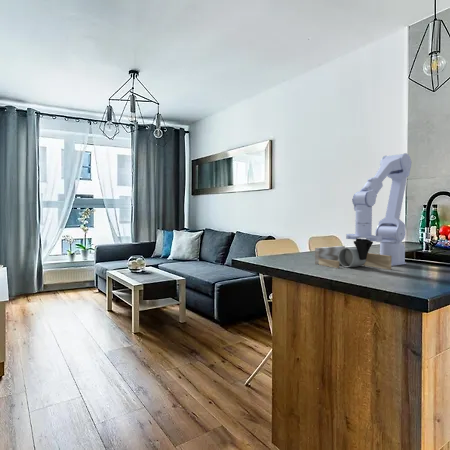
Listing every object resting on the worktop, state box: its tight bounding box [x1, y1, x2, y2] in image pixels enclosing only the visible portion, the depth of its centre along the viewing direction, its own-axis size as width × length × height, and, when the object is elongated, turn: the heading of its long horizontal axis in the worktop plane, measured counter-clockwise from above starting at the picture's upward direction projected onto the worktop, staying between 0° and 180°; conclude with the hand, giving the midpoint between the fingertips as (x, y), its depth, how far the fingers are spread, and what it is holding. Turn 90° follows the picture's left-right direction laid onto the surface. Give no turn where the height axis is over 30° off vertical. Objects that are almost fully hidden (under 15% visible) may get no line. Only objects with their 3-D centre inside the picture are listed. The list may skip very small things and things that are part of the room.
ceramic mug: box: [338, 246, 367, 268], centre depth 141 cm, size 11×8×8 cm
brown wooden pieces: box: [314, 245, 392, 270], centre depth 140 cm, size 15×24×6 cm, turn 30°
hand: (362, 259), depth 135 cm, fingers closed
